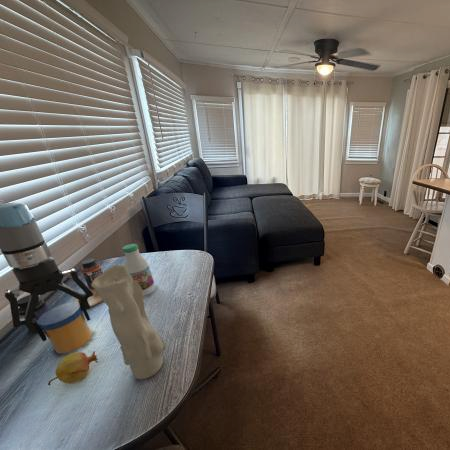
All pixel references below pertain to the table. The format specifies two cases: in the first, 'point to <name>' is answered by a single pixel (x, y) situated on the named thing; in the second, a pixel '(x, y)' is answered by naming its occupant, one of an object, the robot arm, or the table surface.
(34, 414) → the table surface
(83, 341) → the jar
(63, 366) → the fruit
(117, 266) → the vase
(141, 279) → the milk bottle
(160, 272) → the table surface
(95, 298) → the coaster
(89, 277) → the supplement bottle
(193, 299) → the table surface
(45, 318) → the lid
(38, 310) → the pill bottle
